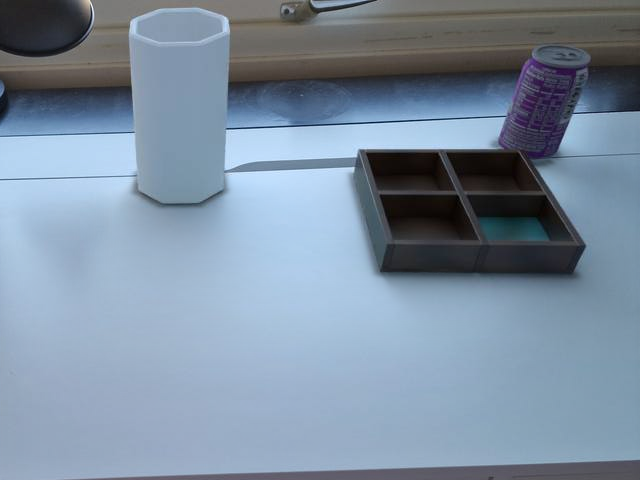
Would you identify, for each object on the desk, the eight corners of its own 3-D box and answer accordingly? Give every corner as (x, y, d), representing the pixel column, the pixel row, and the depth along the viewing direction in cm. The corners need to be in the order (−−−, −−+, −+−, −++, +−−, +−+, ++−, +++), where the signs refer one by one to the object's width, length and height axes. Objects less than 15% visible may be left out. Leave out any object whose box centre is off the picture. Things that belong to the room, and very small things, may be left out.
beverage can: (549, 138, 90) (586, 43, 82) (561, 165, 85) (602, 68, 77) (492, 135, 91) (523, 41, 83) (501, 161, 86) (535, 65, 78)
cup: (238, 168, 87) (247, 12, 74) (206, 214, 80) (210, 51, 67) (157, 152, 90) (152, 1, 77) (120, 195, 83) (107, 37, 70)
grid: (514, 175, 84) (524, 148, 82) (572, 273, 70) (586, 245, 68) (353, 175, 85) (358, 148, 83) (380, 271, 72) (387, 244, 69)
